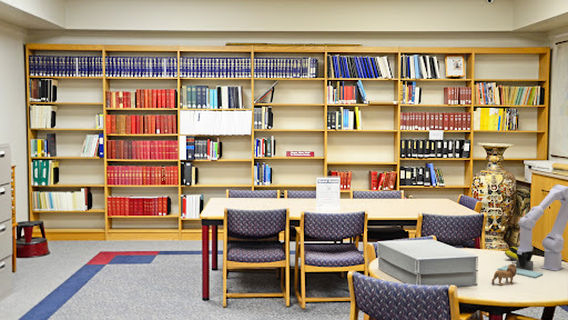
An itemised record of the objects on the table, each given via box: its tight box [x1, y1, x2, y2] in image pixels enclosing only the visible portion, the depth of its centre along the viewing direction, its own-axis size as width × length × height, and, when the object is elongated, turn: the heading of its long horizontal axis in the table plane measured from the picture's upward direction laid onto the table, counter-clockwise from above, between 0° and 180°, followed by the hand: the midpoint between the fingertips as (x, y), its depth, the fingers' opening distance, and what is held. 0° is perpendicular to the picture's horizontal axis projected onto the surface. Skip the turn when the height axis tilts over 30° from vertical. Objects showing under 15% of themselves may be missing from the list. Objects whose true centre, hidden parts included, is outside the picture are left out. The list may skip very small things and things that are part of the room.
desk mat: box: [497, 265, 544, 279], centre depth 277 cm, size 9×19×1 cm, turn 43°
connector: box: [511, 259, 534, 271], centre depth 284 cm, size 4×10×4 cm, turn 43°
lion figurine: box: [491, 263, 517, 286], centre depth 257 cm, size 15×5×9 cm, turn 117°
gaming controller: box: [504, 246, 518, 261], centre depth 304 cm, size 15×6×10 cm
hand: (524, 265), depth 283 cm, fingers open, 5 cm apart
